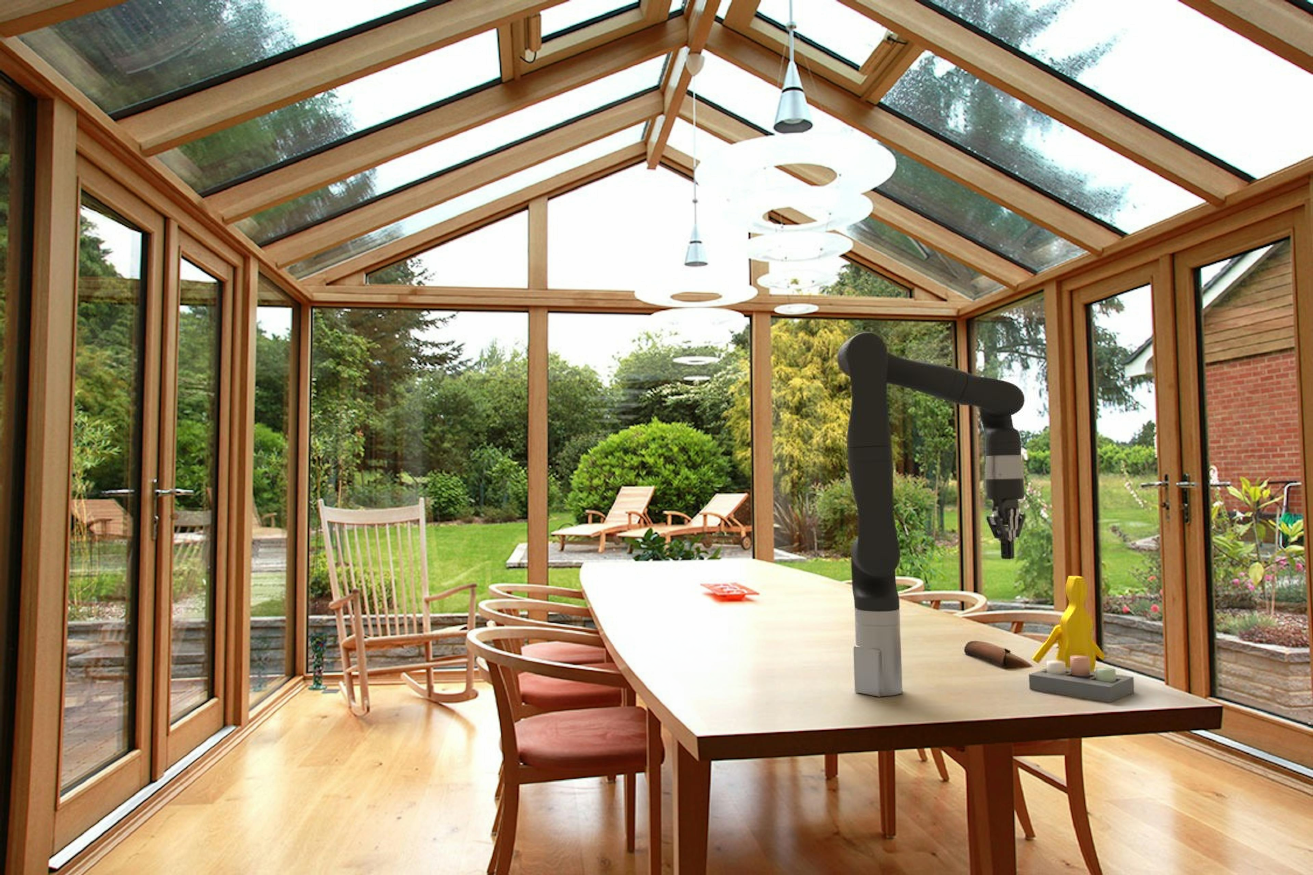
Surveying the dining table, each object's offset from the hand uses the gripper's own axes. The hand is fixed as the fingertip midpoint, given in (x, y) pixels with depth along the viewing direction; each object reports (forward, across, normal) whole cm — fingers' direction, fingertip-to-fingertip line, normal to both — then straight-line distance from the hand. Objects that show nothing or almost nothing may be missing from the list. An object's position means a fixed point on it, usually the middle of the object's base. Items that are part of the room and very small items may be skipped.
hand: (1007, 558), depth 183 cm
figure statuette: (+27, +21, -4) cm, 34 cm away
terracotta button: (+24, +7, -11) cm, 27 cm away
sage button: (+25, +7, -16) cm, 31 cm away
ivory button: (+25, +7, -6) cm, 27 cm away
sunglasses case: (+28, +23, +15) cm, 39 cm away
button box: (+27, +7, -11) cm, 30 cm away
